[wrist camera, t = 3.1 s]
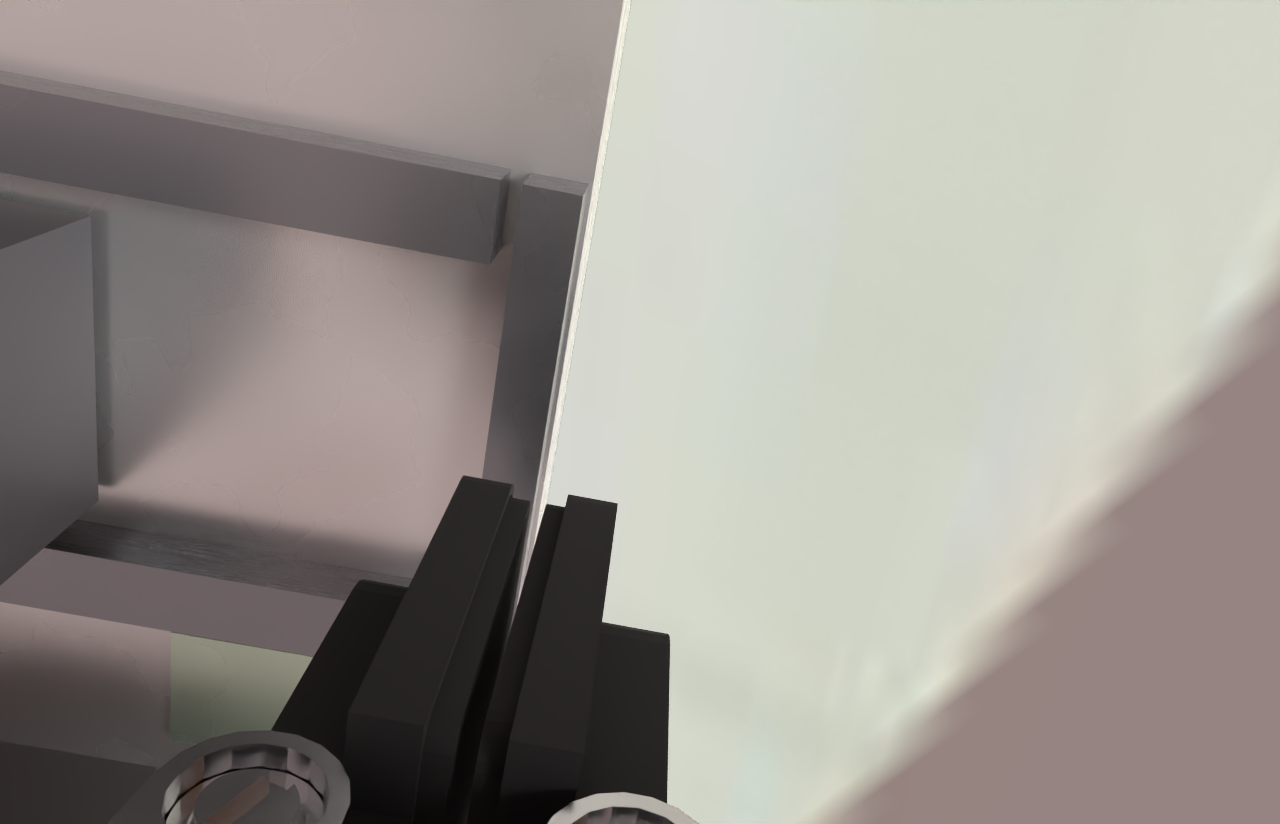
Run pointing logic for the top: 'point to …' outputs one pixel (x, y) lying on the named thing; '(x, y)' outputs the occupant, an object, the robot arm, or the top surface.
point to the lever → (45, 378)
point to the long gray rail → (64, 786)
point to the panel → (289, 323)
